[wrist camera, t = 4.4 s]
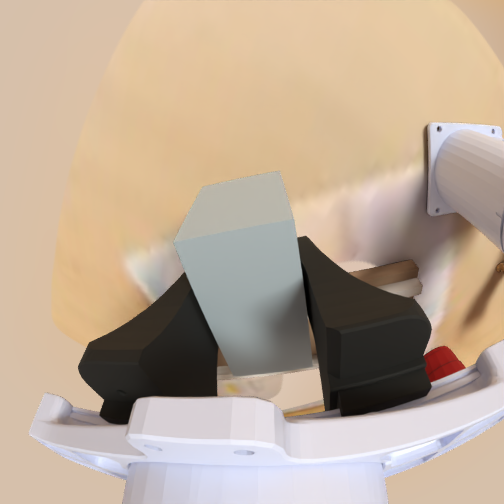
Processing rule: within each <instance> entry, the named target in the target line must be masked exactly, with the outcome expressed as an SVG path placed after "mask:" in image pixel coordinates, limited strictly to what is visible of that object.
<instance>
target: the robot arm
mask: <svg viewBox="0 0 504 504" xmlns="http://www.w3.org/2000/svg"><path fill="white" fill-rule="evenodd" d="M437 127H439V131H437ZM427 130H428V157H429V174H428V202H427V213H428V214H429V215H430V216H438V215H444V214H450V213H456V212H458V213H459V214H460V215H461V216H463V217H464V218H465V219H466V220H468V221H469V222H470V223H471V224H472V225H473V226H475V227H476V228H477V229H478V230H479V231H480V232H481V233H483V234H484V235H485V236H486V237H487V238H488V239H489V240H490V241H491V242H492V243H494V244H495V245H496V246H497V247H498V248H499V249H500V250H501V251H502V252H503V253H504V139H503V138H502V130H501V128H500V127H499V126H493V125H482V124H468V123H441V122H431V123H429V124H428V128H427ZM437 208H438V209H437ZM436 209H437V211H436ZM297 241H298V248H299V255H300V262H301V269H302V276H303V283H304V291H305V299H306V307H307V315H308V318H309V322H310V325H311V329H312V332H313V336H314V340H315V345H316V351H317V357H318V364H319V370H320V377H321V383H322V390H323V398H324V406H325V412H319V413H313V414H306V415H299V416H292V417H284V415H283V412H282V410H281V409H280V408H278V407H277V406H276V405H275V404H274V403H272V402H271V401H268V400H265V399H261V398H258V397H254V396H217V361H218V348H219V346H218V344H217V342H216V340H215V337H214V335H213V333H212V331H211V329H210V327H209V325H208V323H207V320H206V318H205V316H204V314H203V312H202V309H201V307H200V305H199V303H198V300H197V298H196V296H195V294H194V291H193V289H192V287H191V284H190V282H189V280H188V277H187V275H186V273H185V272H184V273H183V274H182V275H181V277H180V278H179V279H178V280H177V281H176V282H175V283H174V284H173V285H172V286H171V287H170V288H169V289H168V290H167V291H166V292H165V293H164V294H163V295H162V296H161V297H160V298H159V299H158V300H157V301H155V302H154V303H153V304H152V305H151V306H149V307H148V308H147V309H146V310H144V311H143V312H142V313H140V314H139V315H137V316H136V317H135V318H133V319H132V320H130V321H129V322H127V323H126V324H124V325H122V326H121V327H119V328H117V329H116V330H114V331H112V332H110V333H108V334H106V335H104V336H102V337H100V338H98V339H96V340H94V341H91V342H89V344H88V346H87V348H86V350H85V352H84V355H83V357H82V359H81V361H80V363H79V366H78V370H79V373H80V375H81V377H82V378H83V379H84V381H85V382H86V383H87V384H88V385H89V386H90V387H91V388H92V389H93V390H94V391H95V392H96V393H97V394H98V395H100V396H101V397H102V398H103V399H104V402H103V405H102V408H101V411H100V412H97V411H91V410H86V409H82V408H77V407H73V406H72V405H71V404H70V403H69V402H68V401H67V400H66V399H64V398H63V397H61V396H58V395H54V394H50V393H45V394H44V396H43V398H42V401H41V403H40V405H39V408H38V410H37V413H36V415H35V418H34V420H33V423H32V425H31V428H30V431H29V435H30V436H31V437H33V438H34V439H36V440H37V441H39V442H40V443H42V444H43V445H45V446H46V447H48V448H49V449H51V450H52V451H54V452H56V453H57V454H59V455H61V456H62V457H64V458H66V459H68V460H71V461H74V462H76V463H79V464H81V465H83V466H86V467H89V468H92V469H94V470H97V471H99V472H102V473H105V474H108V475H111V476H114V477H117V478H120V479H123V480H126V485H125V491H124V497H123V502H122V504H388V496H387V490H386V484H385V478H386V477H389V476H391V475H394V474H397V473H400V472H402V471H405V470H408V469H410V468H413V467H415V466H418V465H420V464H422V463H425V462H427V461H429V460H432V459H434V458H436V457H438V456H440V455H442V454H444V453H446V452H448V451H450V450H452V449H454V448H456V447H458V446H460V445H462V444H463V443H465V442H467V441H469V440H471V439H472V438H474V437H476V436H477V435H479V434H481V433H482V432H484V431H486V430H487V429H489V428H491V427H492V426H494V425H495V424H497V423H498V422H500V421H502V420H503V419H504V339H503V340H501V341H499V342H498V343H496V344H494V345H492V346H490V347H488V348H486V349H485V350H484V351H483V352H482V353H481V354H480V356H479V357H478V359H477V361H476V364H474V365H472V366H469V367H467V368H465V369H463V370H461V371H458V372H456V373H454V374H451V375H449V376H446V377H444V378H441V379H439V380H436V381H434V382H430V380H429V377H428V375H427V373H426V370H425V368H426V366H427V363H426V360H425V358H424V356H423V354H424V352H425V349H426V347H427V344H428V341H429V339H430V335H431V330H432V328H431V323H430V321H429V320H428V318H427V316H426V314H425V313H424V311H423V310H422V308H421V307H420V306H419V304H418V303H417V302H416V300H415V299H412V298H408V297H405V296H401V295H397V294H393V293H390V292H388V291H385V290H382V289H379V288H377V287H375V286H372V285H370V284H368V283H366V282H364V281H362V280H360V279H358V278H356V277H354V276H353V275H351V274H349V273H348V272H346V271H345V270H343V269H342V268H340V267H339V266H338V265H337V264H335V263H334V262H333V261H332V260H330V259H329V258H328V257H327V256H326V255H325V254H324V253H323V252H321V251H320V250H319V249H318V248H317V247H316V246H315V245H314V243H313V242H312V241H311V240H310V239H309V238H308V237H307V236H303V237H298V238H297Z"/></svg>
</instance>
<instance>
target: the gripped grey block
mask: <svg viewBox="0 0 504 504" xmlns="http://www.w3.org/2000/svg"><path fill="white" fill-rule="evenodd" d="M173 243H174V246H175V248H176V251H177V253H178V256H179V258H180V261H181V263H182V265H183V268H184V270H185V273H186V275H187V277H188V280H189V282H190V284H191V287H192V289H193V291H194V294H195V296H196V298H197V300H198V303H199V305H200V307H201V309H202V312H203V314H204V316H205V318H206V320H207V323H208V325H209V327H210V329H211V331H212V333H213V335H214V337H215V340H216V342H217V344H218V346H219V348H220V350H221V352H222V354H223V356H224V358H225V360H226V362H227V364H228V366H229V368H230V370H231V372H232V374H233V376H234V377H236V376H247V375H257V374H266V373H274V372H282V371H289V370H296V369H302V368H308V367H313V363H312V352H311V343H310V333H309V324H308V316H307V307H306V299H305V291H304V283H303V276H302V269H301V262H300V255H299V248H298V241H297V235H296V228H295V222H294V217H293V214H292V210H291V207H290V203H289V200H288V196H287V193H286V190H285V186H284V183H283V180H282V177H281V173H280V171H275V172H270V173H265V174H260V175H255V176H250V177H245V178H240V179H235V180H231V181H226V182H222V183H217V184H213V185H208V186H204V187H202V189H201V190H200V192H199V194H198V196H197V198H196V200H195V201H194V203H193V205H192V207H191V209H190V211H189V212H188V214H187V216H186V218H185V220H184V222H183V224H182V226H181V228H180V230H179V232H178V234H177V235H176V237H175V239H174V241H173Z"/></svg>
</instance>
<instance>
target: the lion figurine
mask: <svg viewBox="0 0 504 504" xmlns="http://www.w3.org/2000/svg"><path fill="white" fill-rule="evenodd" d="M496 270H497V272H501V270H502V271H503V272H504V264H503V263H500V264H498V265H497V267H496Z"/></svg>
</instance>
